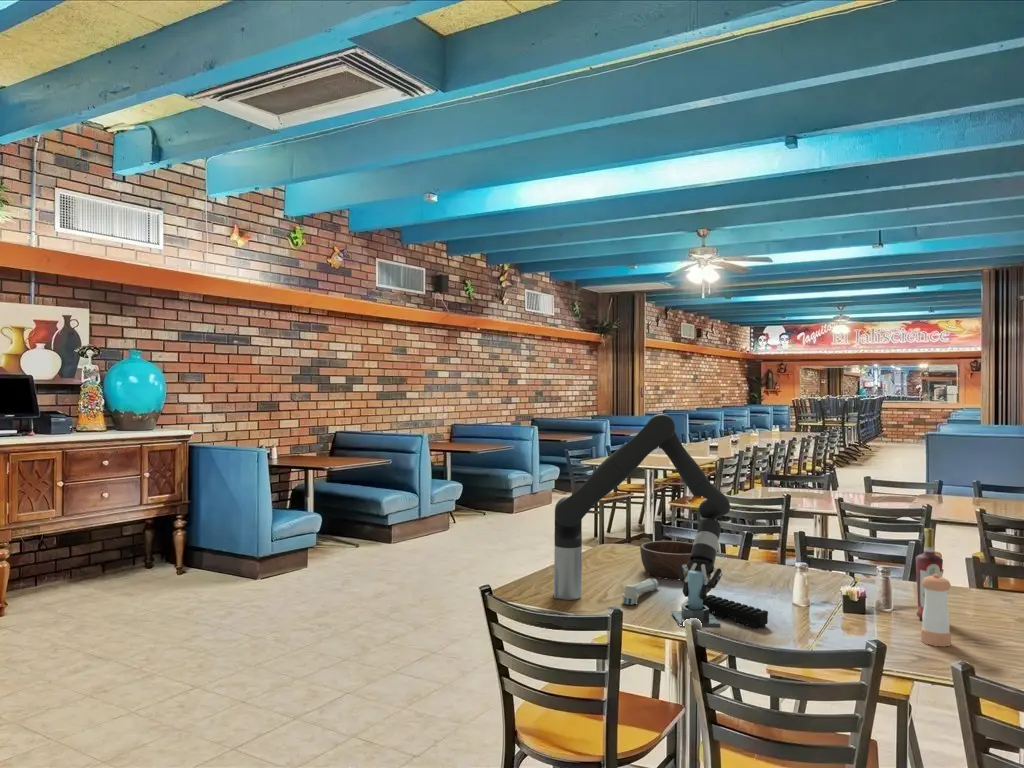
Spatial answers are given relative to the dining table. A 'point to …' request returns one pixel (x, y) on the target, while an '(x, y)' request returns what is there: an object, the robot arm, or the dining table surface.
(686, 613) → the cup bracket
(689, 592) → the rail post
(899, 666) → the dining table surface
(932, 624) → the salt shaker
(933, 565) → the liquor
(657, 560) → the wooden bowl
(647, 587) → the grey handheld tool
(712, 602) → the rail mount
